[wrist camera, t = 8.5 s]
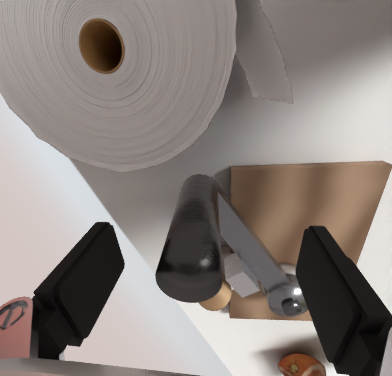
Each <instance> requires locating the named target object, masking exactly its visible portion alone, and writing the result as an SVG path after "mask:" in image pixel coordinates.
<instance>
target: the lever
mask: <svg viewBox="0 0 392 376" xmlns="http://www.w3.org/2000/svg"><path fill="white" fill-rule="evenodd" d="M220 236H221V237H222V238H223V239H224V240H225V241H226V243H227V244H228V245H229V246H230V247H231V248H232V250H233V251H234V252H235V253H233V254H231V255H229V256H227V257H225V258H224V266H225V280H226V281H227V282H228V283H229V284H230V285H231V286H232V287H233V288H234V290H235V291H236V292H237V293H238V294H239V295H240V296H241V297H242V298H243V297H245V296H248V295H250V294H253V293H255V292H258V291H260V288H259V284H258V280H259V281H260V282H261V284H262V285H263V286H264V290H265V294H266V298H267V301H268V305H269V308H270V310H271V311H272V312H273V313H275V314H277V315H279V316H283V317H293V316H298V315H301V314H303V313H305V312H306V311H307V310H308V308H307V305H306V302H305V300H304V297H303V294H302V292H301V289H300V286H299V284H298V281H297V278H296V275H294V274H288V273H285V271H284V270H283V269H282V267H281V266H280V265H279V264H278V262H277V261H276V260H275V258H274V257H273V256H272V254H271V253H270V252H269V251H268V249H267V248H266V247H265V245H264V244H263V243H262V241H261V240H260V239H259V238H258V236H257V235H256V234H255V232H254V231H253V230H252V228H251V227H250V226H249V225H248V223H247V222H246V221H245V219H244V218H243V217H242V216H241V214H240V213H239V212H238V210H237V209H236V208H235V206H234V205H233V204H232V203H231V201H230V200H229V199H228V197H227V196H226V195H225V193H224V192H223V191H222V190H221V188H220V187H219V186H218V184H217V183H216V182H215V180H214V179H213V178H212V177H208V176H206V175H201V174H198V175H193V176H191V177H189V178H188V179H187V180H186V181H185V182H184V184H183V187H182V190H181V193H180V196H179V200H178V203H177V206H176V209H175V213H174V216H173V219H172V222H171V225H170V229H169V232H168V235H167V238H166V242H165V245H164V248H163V251H162V255H161V258H160V261H159V264H158V267H157V271H156V282H157V284H158V286H159V288H160V289H161V290H162V291H163V292H164V293H165V294H166V295H168V296H169V297H171V298H173V299H176V300H178V301H182V302H189V303H196V302H202V301H206V300H209V299H211V298H212V297H214V296H215V295H216V294H217V293H218V292H219V291H220V289H221V287H222V283H223V277H222V259H221V241H220ZM257 279H258V280H257Z"/></svg>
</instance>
